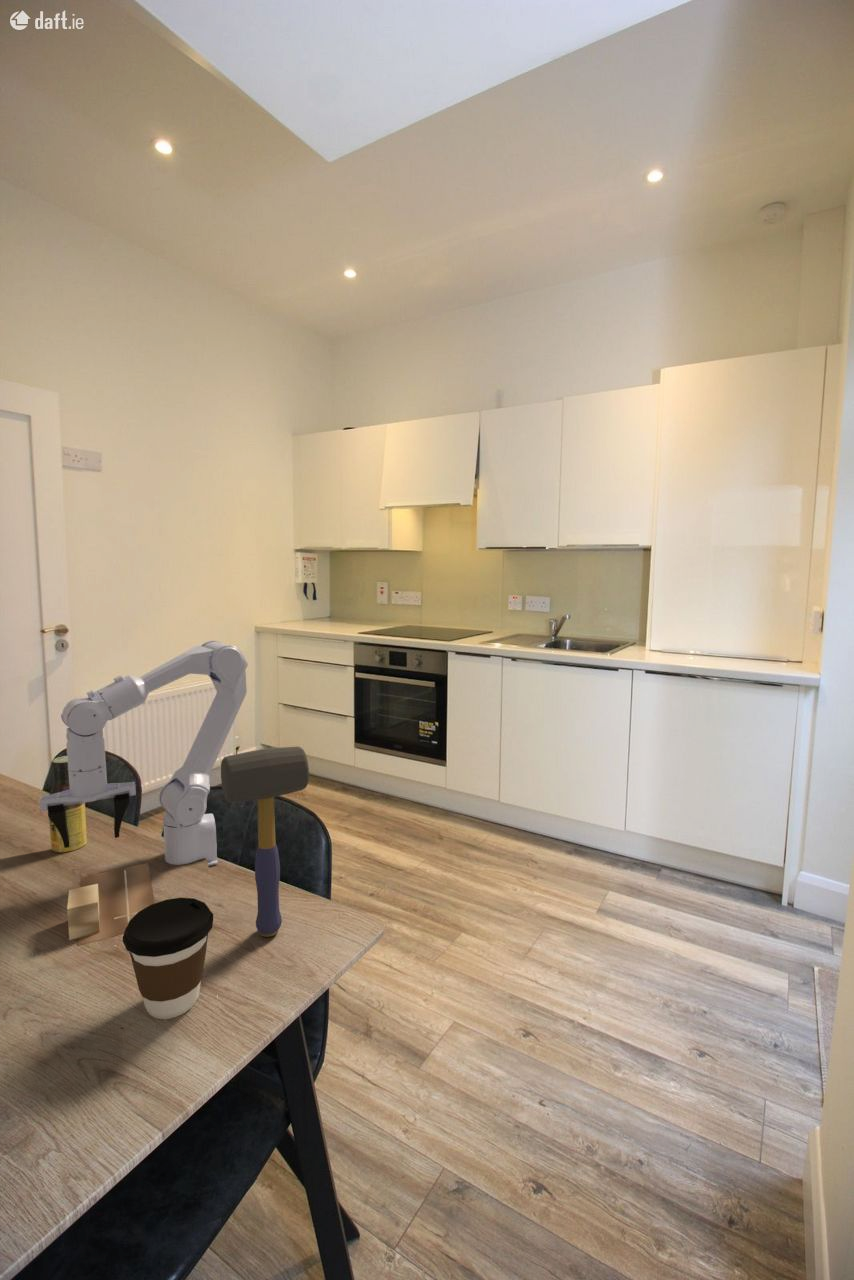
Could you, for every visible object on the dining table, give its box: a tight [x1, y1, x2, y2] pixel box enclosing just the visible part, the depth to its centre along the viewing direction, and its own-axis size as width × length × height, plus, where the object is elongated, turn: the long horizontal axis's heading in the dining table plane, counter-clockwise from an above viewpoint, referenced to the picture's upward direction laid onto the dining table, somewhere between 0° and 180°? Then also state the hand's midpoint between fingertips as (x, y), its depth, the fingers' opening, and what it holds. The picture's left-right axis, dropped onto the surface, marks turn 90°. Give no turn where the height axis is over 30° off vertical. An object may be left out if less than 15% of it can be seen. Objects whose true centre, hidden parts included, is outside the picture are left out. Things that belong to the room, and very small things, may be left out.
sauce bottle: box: [48, 755, 88, 853], centre depth 117 cm, size 6×6×20 cm
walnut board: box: [76, 862, 156, 947], centre depth 99 cm, size 11×22×2 cm, turn 29°
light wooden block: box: [66, 884, 100, 941], centre depth 91 cm, size 4×6×6 cm, turn 29°
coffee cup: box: [122, 897, 214, 1020], centre depth 77 cm, size 11×11×12 cm
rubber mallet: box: [220, 746, 310, 938], centre depth 91 cm, size 12×8×30 cm, turn 119°
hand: (92, 840), depth 104 cm, fingers open, 7 cm apart
